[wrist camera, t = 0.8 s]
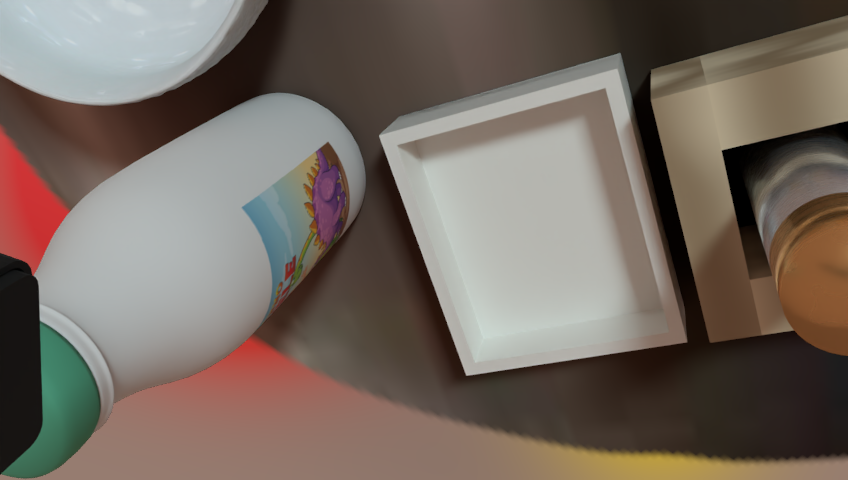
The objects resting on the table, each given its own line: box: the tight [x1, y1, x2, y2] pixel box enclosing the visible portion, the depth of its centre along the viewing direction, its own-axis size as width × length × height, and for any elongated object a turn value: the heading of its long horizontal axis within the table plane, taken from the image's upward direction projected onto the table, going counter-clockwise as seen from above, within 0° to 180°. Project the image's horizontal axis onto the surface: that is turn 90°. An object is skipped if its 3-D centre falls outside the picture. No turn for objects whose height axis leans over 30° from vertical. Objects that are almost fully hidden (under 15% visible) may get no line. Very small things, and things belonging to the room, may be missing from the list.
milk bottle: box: [1, 93, 366, 478], centre depth 29 cm, size 8×8×20 cm
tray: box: [379, 53, 687, 376], centre depth 34 cm, size 10×12×3 cm
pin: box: [739, 124, 848, 356], centre depth 27 cm, size 4×4×12 cm
